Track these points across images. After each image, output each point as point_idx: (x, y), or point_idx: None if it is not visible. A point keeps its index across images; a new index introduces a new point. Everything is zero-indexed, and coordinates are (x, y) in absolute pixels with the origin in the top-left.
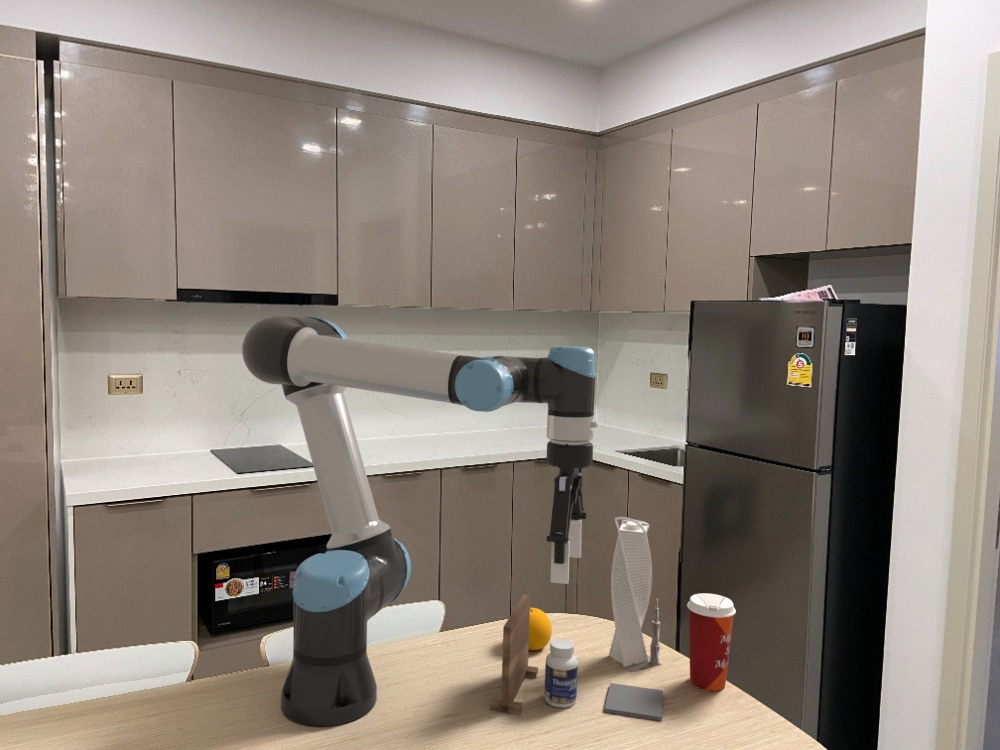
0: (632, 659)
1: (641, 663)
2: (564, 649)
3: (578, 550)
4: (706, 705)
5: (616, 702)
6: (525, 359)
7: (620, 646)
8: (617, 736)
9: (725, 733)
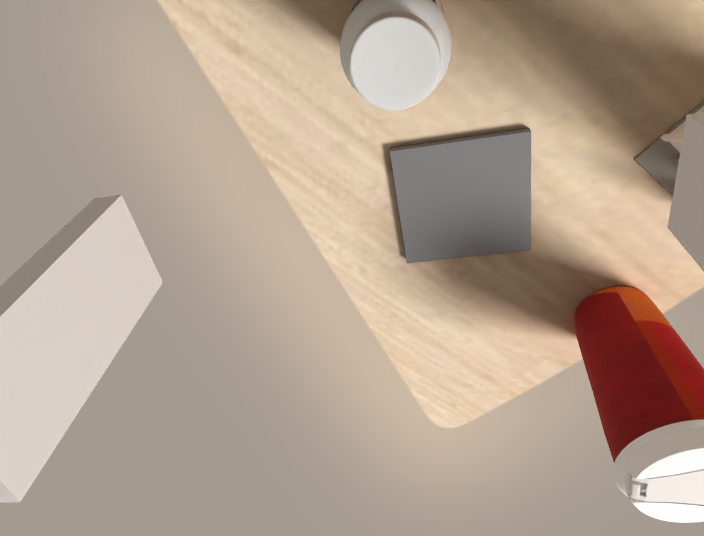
0: None
1: None
2: (356, 87)
3: (694, 246)
4: (507, 320)
5: (430, 169)
6: None
7: None
8: (304, 195)
9: (412, 351)
